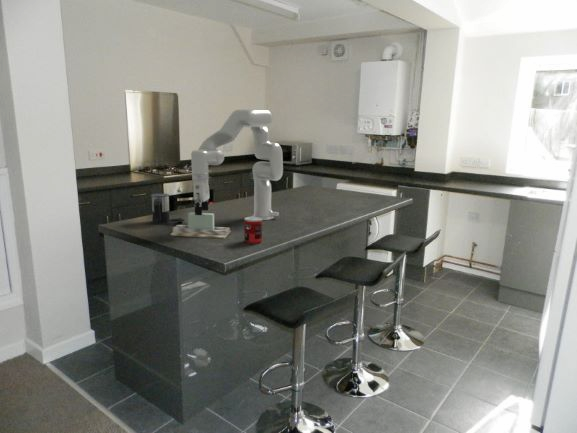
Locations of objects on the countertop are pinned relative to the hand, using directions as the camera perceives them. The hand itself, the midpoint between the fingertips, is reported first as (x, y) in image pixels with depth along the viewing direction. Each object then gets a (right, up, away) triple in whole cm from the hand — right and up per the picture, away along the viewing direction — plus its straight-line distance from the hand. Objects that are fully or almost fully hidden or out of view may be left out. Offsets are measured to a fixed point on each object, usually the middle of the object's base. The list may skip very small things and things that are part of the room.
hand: (201, 212), depth 199 cm
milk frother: (-22, -5, +21) cm, 31 cm away
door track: (-1, -10, +2) cm, 10 cm away
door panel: (-1, -9, +2) cm, 10 cm away
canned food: (+25, -14, -10) cm, 30 cm away
